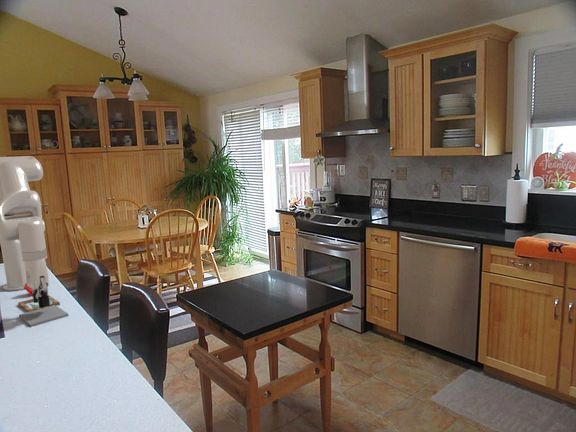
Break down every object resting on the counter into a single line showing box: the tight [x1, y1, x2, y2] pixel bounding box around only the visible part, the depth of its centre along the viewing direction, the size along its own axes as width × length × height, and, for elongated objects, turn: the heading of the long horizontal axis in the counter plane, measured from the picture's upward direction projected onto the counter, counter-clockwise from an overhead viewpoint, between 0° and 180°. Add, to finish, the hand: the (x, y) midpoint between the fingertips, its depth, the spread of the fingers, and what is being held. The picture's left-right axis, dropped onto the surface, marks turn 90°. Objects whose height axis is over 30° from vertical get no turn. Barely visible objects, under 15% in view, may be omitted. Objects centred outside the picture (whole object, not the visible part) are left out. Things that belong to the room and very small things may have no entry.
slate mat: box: [18, 305, 69, 328], centre depth 153 cm, size 14×12×1 cm
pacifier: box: [29, 291, 53, 309], centre depth 153 cm, size 7×6×6 cm
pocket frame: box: [17, 294, 61, 313], centre depth 166 cm, size 14×11×1 cm
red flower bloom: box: [23, 283, 33, 297], centre depth 179 cm, size 8×6×6 cm
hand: (41, 304), depth 153 cm, fingers closed on pacifier, 5 cm apart
